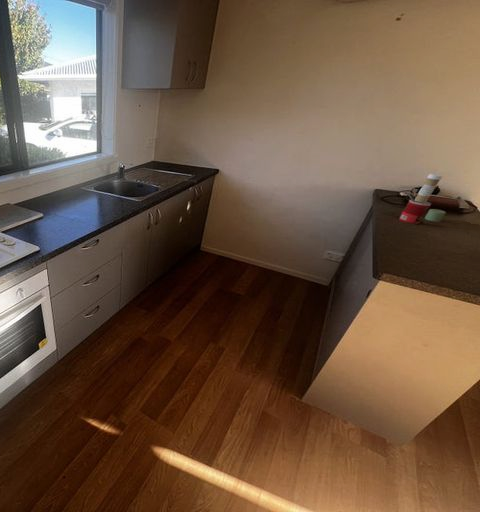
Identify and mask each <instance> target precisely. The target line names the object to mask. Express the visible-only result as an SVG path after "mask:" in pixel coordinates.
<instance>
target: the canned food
mask: <svg viewBox="0 0 480 512" xmlns="http://www.w3.org/2000/svg"><path fill="white" fill-rule="evenodd" d="M431 205H432V203H431V202H429V201H427V202H425V203H423V202H417V201H415V199H409V200H408V202H407V203H406V206H405V207H404V209H403V211H402V212H401V214H400V216H399V217H398V220H399V221H400V222H403V223H406V224H409V225H411V224H412V225H419V224H420V223H421V222H422V220H423V219H424V218H425V216H426V215H427V213H428V211H429V210H430V207H431Z"/></svg>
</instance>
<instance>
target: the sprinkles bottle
mask: <svg viewBox="0 0 480 512" xmlns="http://www.w3.org/2000/svg"><path fill="white" fill-rule="evenodd" d="M442 178H443V175H441V174H437V173H429V174H428V175H427V178H426V180H425V181H424V183H423V184H422V186H421V188H420V189H419V191H418V193H417V195H416V197H415V199H414V200H415V201H417V202H423V203H425V202H428V200H429V199H430V197H431V195H432V193H434V191H435V189H436V187H437V186H438V184H439V182H440V181H441V180H442Z"/></svg>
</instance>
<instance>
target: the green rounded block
mask: <svg viewBox="0 0 480 512" xmlns="http://www.w3.org/2000/svg"><path fill="white" fill-rule="evenodd" d="M446 213H447V212H446V211H445V210H441V209H436V208H429V209H428V210H427V212H426V214H425V216H424V219H425V220H427V221H430V222H434V223H435V222H437V223H441V222H442V220H443V219H444V216H445V215H446Z"/></svg>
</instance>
